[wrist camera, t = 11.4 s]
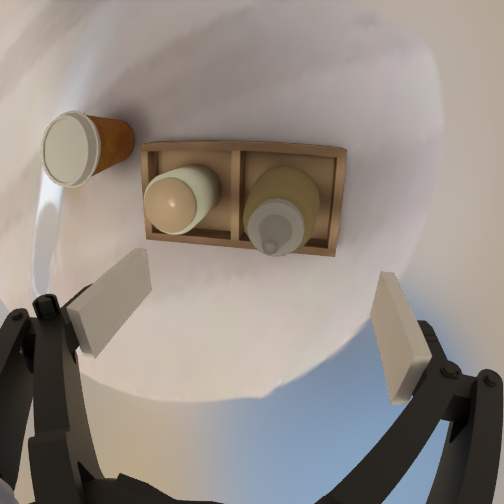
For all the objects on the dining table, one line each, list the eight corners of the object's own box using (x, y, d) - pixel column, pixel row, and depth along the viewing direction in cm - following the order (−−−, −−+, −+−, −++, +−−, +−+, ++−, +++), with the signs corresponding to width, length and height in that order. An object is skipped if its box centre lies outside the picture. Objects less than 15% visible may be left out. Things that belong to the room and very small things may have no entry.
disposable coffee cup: (110, 99, 37) (55, 98, 26) (155, 130, 38) (104, 135, 27) (85, 152, 41) (31, 165, 30) (125, 184, 42) (74, 205, 31)
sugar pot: (171, 163, 38) (138, 174, 30) (221, 163, 37) (198, 174, 29) (173, 213, 41) (143, 234, 33) (221, 216, 40) (199, 239, 32)
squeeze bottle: (316, 227, 38) (322, 301, 22) (254, 223, 40) (215, 291, 23) (321, 165, 35) (333, 193, 19) (255, 161, 37) (212, 186, 20)
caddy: (154, 141, 39) (140, 144, 35) (342, 147, 35) (346, 149, 31) (159, 229, 44) (146, 239, 40) (332, 245, 40) (334, 256, 36)
